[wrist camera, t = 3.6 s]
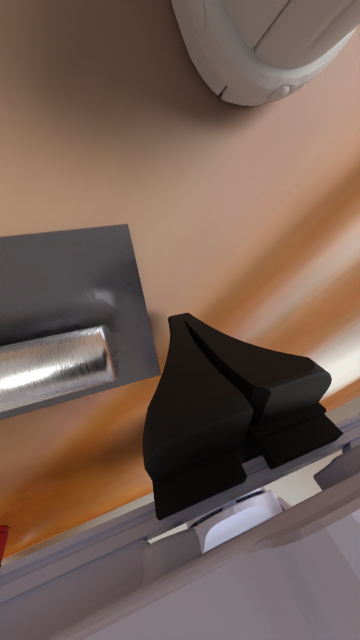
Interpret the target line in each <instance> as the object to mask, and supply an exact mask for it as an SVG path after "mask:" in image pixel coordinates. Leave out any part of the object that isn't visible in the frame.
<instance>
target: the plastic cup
mask: <svg viewBox="0 0 360 640" xmlns="http://www.w3.org/2000/svg"><path fill="white" fill-rule="evenodd" d="M8 529H9V528H8V527H6V526H0V567H1V561H2V557H3V553H4V549H5V545H6V541H7V537H8Z"/></svg>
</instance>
